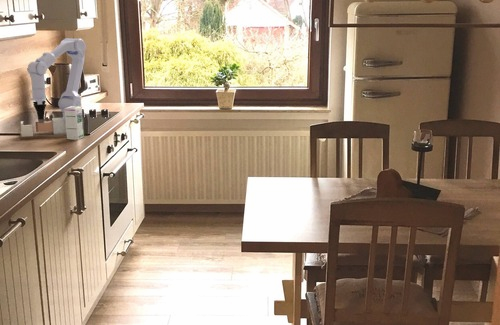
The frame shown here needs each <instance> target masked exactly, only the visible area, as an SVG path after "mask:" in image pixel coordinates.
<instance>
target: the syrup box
mask: <svg viewBox="0 0 500 325" xmlns="http://www.w3.org/2000/svg"><path fill="white" fill-rule="evenodd" d="M83 118H84V117H83V108H82V106H81V107H80V106H70V107H68V108H65V121H66V132H67V137H66V140H75V141H79V140H81V139H83V138H85V130H84V119H83Z"/></svg>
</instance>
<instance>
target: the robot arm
mask: <svg viewBox="0 0 500 325" xmlns="http://www.w3.org/2000/svg"><path fill="white" fill-rule="evenodd" d="M86 48H87V45H86V42H85V41H84V40H83V38H68V37H65V38H64V39H63V40H61V41H60V44H58V45H57V46H56V47H55V48H54V49H53V50H52V51H51V52H44V53H42V55H41V56H40V57H39V58H38V57H37V58H36V59H35V61H31V62H30V63H28V64H27V65H28V66H27V68H26V70H27V73H28V74H29V78H30V85H31V95H32V97H30V98H29V101H33V102H32V103H33V107H34V109H35V111H36V115H37V120H38V119H39V120H40V119H44V120H45V110H46V108H47V103H46V100H47V97H46V84H45V82H46V81H45V74H46V73H47V70H48V68H50V67H51V66H53V65H54V64H55V62H56V59H57V58H59V57H61V56H62V55H63V54H64V53H66V54H67V55H68V56H69V57H70V58H71V59H72V60H71V64H70V70H69V76H68V79H67V80H68V81H67V85H66V90H65V91H63V93H61V96H60V99H58V105H57V106H58V107H59V110H61V112H62V118H63V117H65V108H68V107H70V106H80V107H82V102H81V101H82V97H81V95H80V94H79V88H80V83H81V79H82V78H81V77H82V73H83V68H84V64H85V58H86V56H85V53H86Z"/></svg>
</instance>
